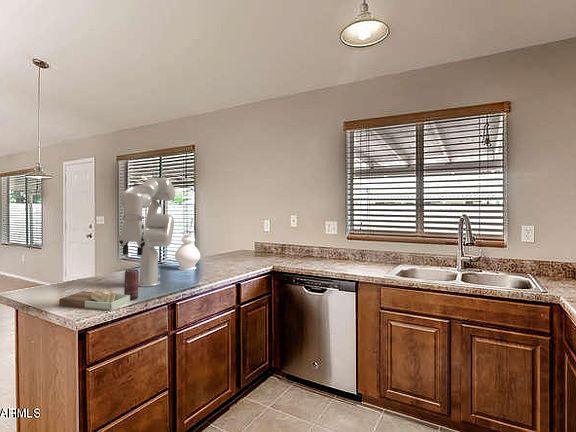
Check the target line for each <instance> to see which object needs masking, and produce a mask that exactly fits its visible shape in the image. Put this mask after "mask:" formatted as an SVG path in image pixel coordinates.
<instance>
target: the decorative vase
mask: <svg viewBox="0 0 576 432" xmlns="http://www.w3.org/2000/svg"><path fill="white" fill-rule="evenodd" d="M194 236H195V235H194V234H193V233H183V237H182V238H181V242H182V243H183V244H181V246H179V248H177V250H176V251H175V254H174V259H175V261H176V262H177V264H179V267H178V268H177V269H178V270H180V271H181V270H182V271H192V270H193V269H194V270H196V269H197V267H196V264H197V263H198V262H199V261H200V259H201V252H200V250H199V249H198V248H197V247H196V245H195V244H194V243H195V241H196V238H195V237H194ZM194 270H193V271H194Z"/></svg>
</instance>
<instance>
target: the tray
mask: <svg viewBox="0 0 576 432" xmlns="http://www.w3.org/2000/svg"><path fill="white" fill-rule="evenodd" d="M129 302H131V300H130V295H124V294H122V293H121V294H120V293H119V294H118V293H116V295H115V299H114V302H112V303H106V302H99V301H98V302H94V301H85V308H84V309H91V310H92V309H94V310H104V311H113V310H115V309H117V308H119V307H121V306H123V305H125V304H127V303H129Z"/></svg>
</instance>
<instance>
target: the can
mask: <svg viewBox="0 0 576 432" xmlns="http://www.w3.org/2000/svg"><path fill="white" fill-rule="evenodd" d="M139 281H140V271H139V270H138V269H127V270H125V272H124V292H123V293H124V294H123V295H130V301H136V300H137V299H138V297H139V286H138V282H139Z"/></svg>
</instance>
